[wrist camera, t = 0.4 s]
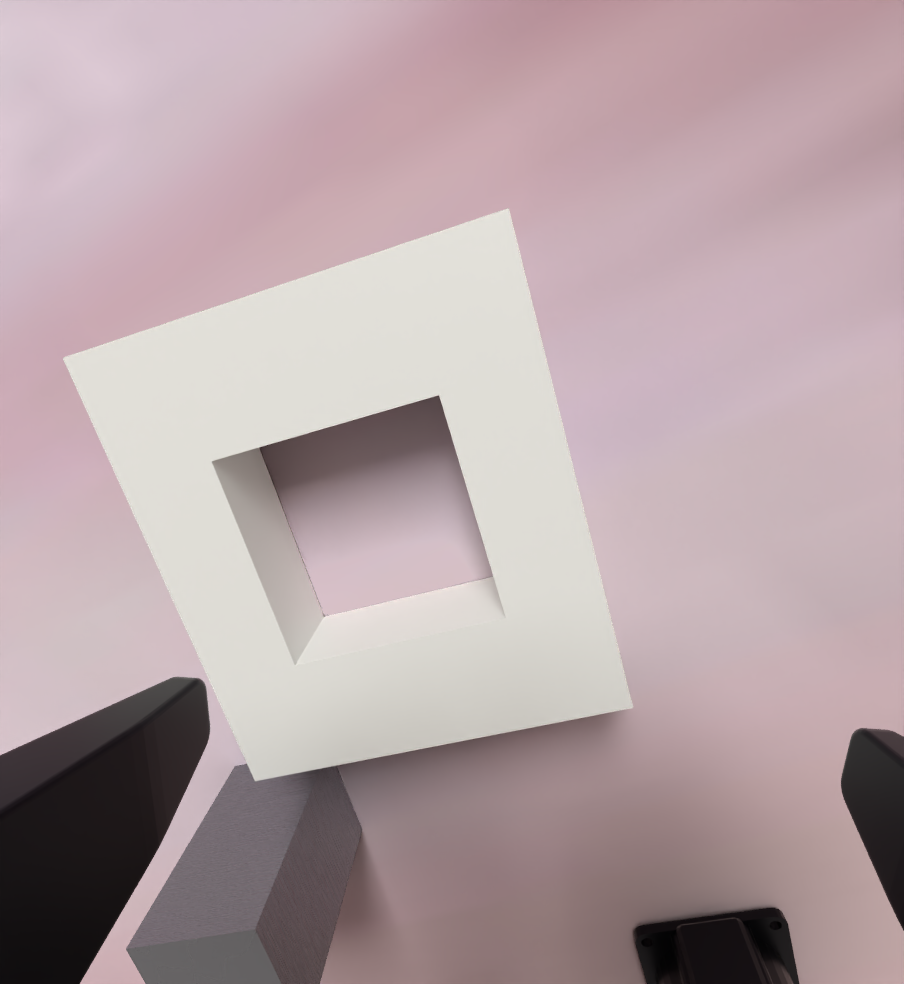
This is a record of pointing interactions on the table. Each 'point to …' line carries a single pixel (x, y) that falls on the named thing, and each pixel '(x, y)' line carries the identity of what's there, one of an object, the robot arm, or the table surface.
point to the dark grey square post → (255, 885)
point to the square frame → (270, 543)
